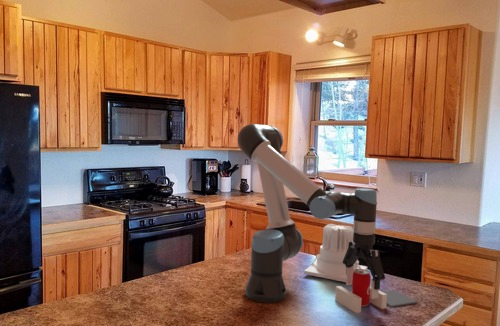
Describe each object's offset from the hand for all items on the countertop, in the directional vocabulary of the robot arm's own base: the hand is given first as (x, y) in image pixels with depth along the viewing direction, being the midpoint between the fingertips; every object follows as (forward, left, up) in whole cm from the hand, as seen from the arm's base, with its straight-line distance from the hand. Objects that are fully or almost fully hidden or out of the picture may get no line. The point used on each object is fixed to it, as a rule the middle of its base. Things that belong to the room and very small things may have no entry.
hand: (361, 291), depth 147 cm
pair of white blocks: (0, 0, -5) cm, 5 cm away
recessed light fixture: (+11, +30, -5) cm, 33 cm away
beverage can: (0, 0, -5) cm, 5 cm away
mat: (+15, 0, -5) cm, 16 cm away
